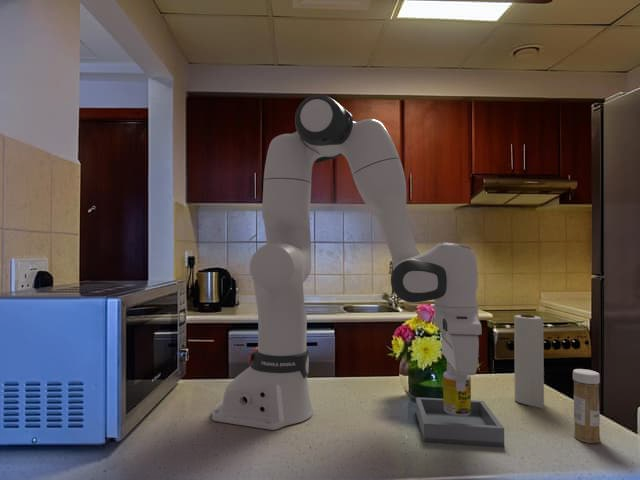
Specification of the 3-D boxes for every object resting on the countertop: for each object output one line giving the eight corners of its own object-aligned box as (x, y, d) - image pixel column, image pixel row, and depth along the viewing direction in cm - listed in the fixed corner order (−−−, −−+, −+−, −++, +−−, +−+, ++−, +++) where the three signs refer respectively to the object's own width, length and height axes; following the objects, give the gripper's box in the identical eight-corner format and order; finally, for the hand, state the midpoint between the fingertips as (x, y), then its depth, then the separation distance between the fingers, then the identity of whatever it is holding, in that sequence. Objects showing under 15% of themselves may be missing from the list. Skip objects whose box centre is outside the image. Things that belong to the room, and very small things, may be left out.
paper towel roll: (513, 396, 108) (513, 313, 108) (540, 399, 106) (539, 315, 106) (515, 405, 101) (515, 317, 102) (544, 409, 99) (543, 319, 100)
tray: (423, 441, 81) (423, 423, 81) (415, 412, 96) (415, 397, 96) (504, 447, 79) (504, 428, 79) (483, 416, 94) (483, 400, 94)
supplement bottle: (459, 419, 84) (458, 368, 84) (437, 411, 89) (437, 362, 89) (477, 414, 87) (476, 364, 87) (455, 405, 92) (454, 359, 92)
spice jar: (603, 445, 80) (603, 375, 81) (577, 442, 82) (576, 373, 82) (596, 436, 84) (595, 369, 85) (570, 432, 86) (570, 367, 86)
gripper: (433, 312, 99) (434, 370, 99) (449, 326, 79) (450, 400, 78) (461, 312, 98) (461, 371, 98) (484, 327, 78) (484, 402, 78)
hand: (456, 384), depth 88 cm, fingers closed on supplement bottle, 6 cm apart
